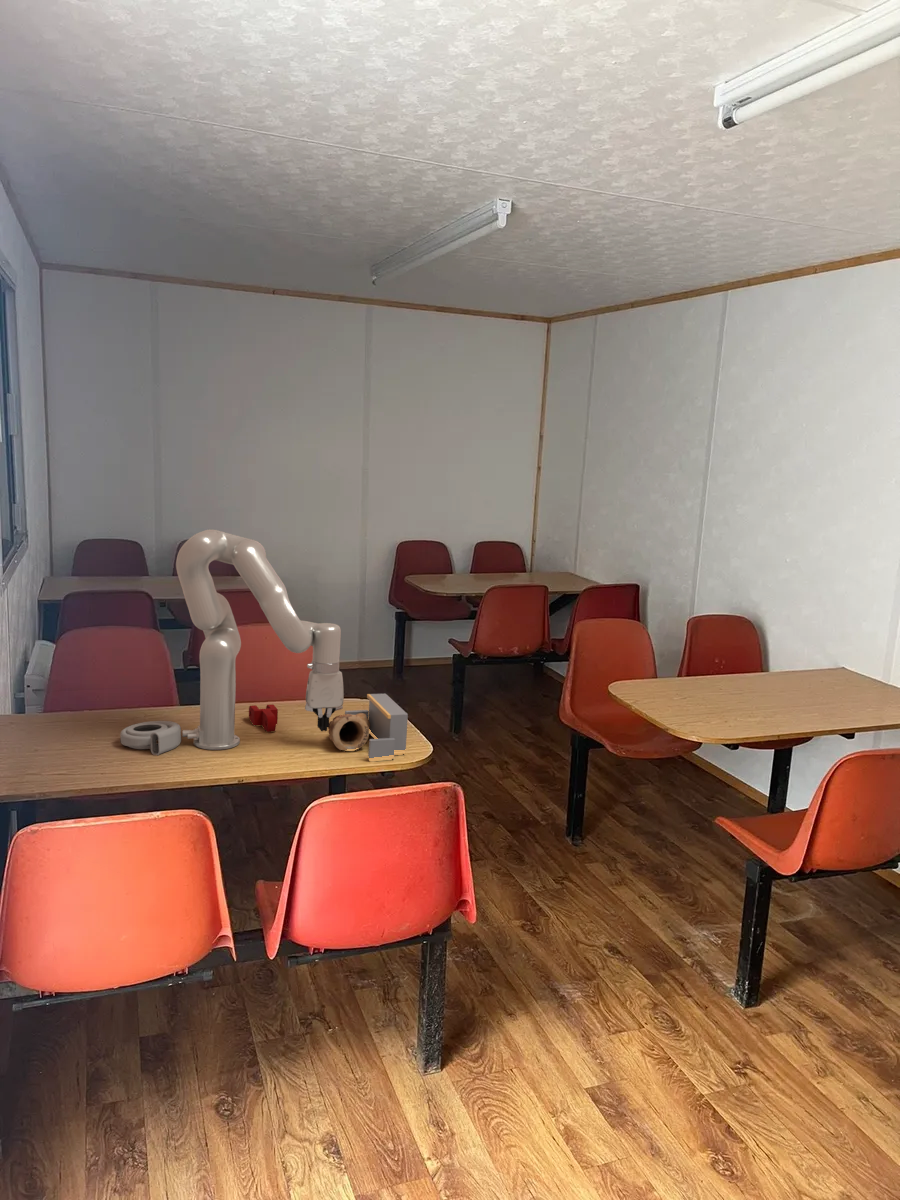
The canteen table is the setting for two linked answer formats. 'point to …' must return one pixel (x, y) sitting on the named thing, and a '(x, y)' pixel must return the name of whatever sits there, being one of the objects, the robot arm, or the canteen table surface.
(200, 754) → the canteen table surface
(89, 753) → the canteen table surface
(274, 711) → the mechanical linkage
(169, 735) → the turbocharger housing
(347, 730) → the clay pipe
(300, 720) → the canteen table surface
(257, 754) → the canteen table surface
